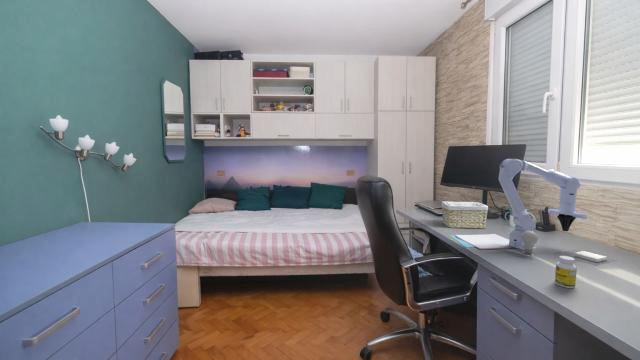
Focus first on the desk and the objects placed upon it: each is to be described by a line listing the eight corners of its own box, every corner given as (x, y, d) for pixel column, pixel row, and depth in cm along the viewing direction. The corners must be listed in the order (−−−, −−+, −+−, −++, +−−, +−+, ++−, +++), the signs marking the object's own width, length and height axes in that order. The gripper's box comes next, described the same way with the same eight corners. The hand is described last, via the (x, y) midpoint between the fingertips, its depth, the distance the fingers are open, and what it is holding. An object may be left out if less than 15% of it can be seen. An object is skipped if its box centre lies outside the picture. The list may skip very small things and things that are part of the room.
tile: (573, 256, 124) (596, 262, 117) (574, 252, 124) (597, 258, 116) (583, 254, 126) (606, 260, 119) (583, 250, 126) (607, 256, 119)
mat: (595, 267, 113) (595, 265, 113) (553, 254, 127) (553, 253, 127) (617, 261, 119) (618, 260, 119) (575, 250, 133) (575, 249, 133)
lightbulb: (533, 253, 130) (535, 229, 129) (539, 257, 124) (540, 233, 123) (518, 251, 132) (519, 228, 131) (522, 255, 126) (524, 231, 125)
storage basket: (446, 228, 175) (447, 205, 174) (439, 222, 191) (440, 200, 190) (488, 229, 171) (489, 206, 170) (477, 223, 187) (478, 201, 186)
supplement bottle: (550, 281, 100) (552, 255, 99) (564, 281, 101) (566, 254, 100) (565, 289, 95) (567, 260, 94) (579, 288, 95) (582, 260, 94)
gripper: (592, 204, 127) (589, 233, 128) (555, 199, 140) (553, 226, 141) (582, 205, 124) (580, 235, 125) (546, 200, 138) (544, 227, 139)
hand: (565, 230), depth 133 cm, fingers closed
